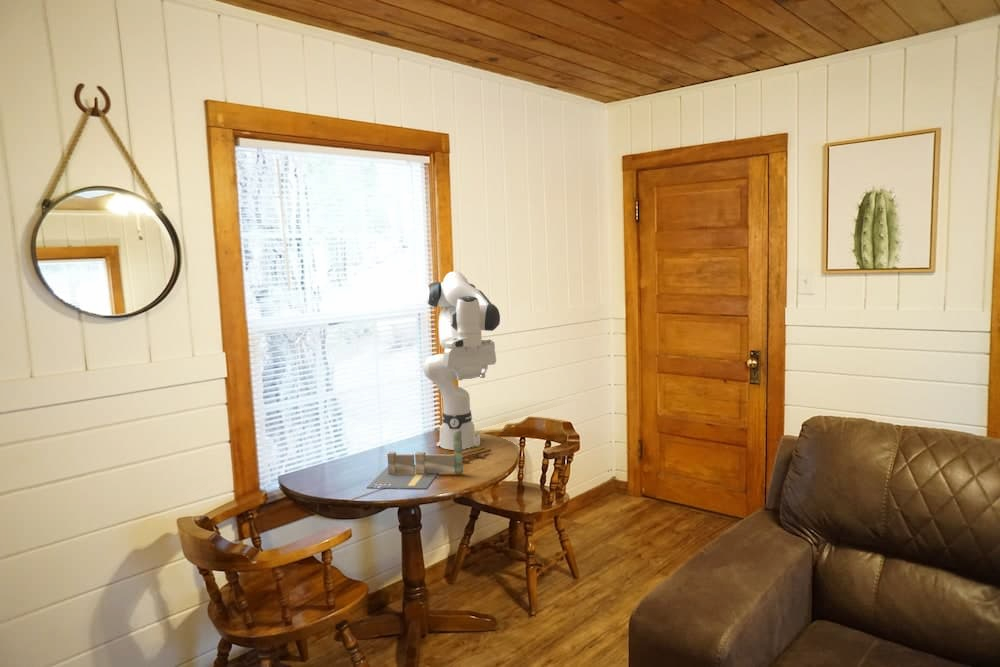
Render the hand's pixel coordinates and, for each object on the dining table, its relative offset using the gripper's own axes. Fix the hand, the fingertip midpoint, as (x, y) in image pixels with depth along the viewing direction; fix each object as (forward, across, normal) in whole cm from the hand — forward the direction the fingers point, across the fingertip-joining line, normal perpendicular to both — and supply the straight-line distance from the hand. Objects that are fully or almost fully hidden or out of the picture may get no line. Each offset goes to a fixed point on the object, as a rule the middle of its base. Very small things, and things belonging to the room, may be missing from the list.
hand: (471, 379), depth 243 cm
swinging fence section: (+33, +13, -3) cm, 35 cm away
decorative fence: (+33, -2, -14) cm, 36 cm away
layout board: (+34, +24, -8) cm, 42 cm away
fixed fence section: (+33, +24, -12) cm, 43 cm away
